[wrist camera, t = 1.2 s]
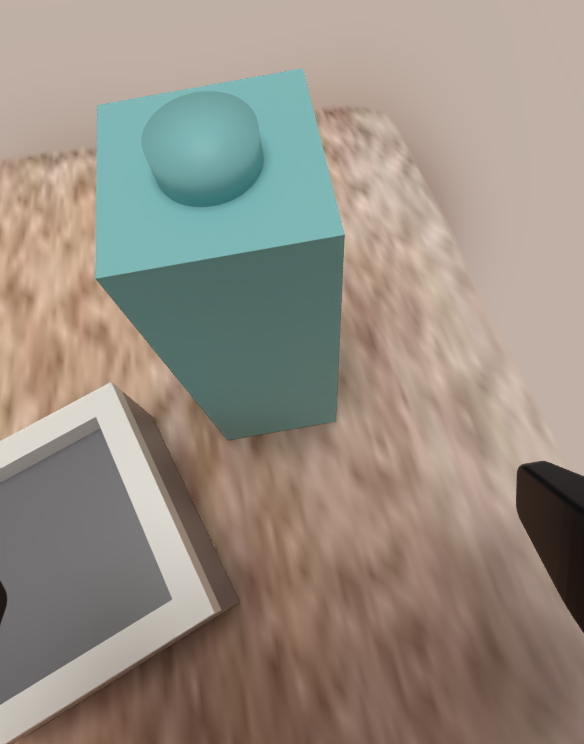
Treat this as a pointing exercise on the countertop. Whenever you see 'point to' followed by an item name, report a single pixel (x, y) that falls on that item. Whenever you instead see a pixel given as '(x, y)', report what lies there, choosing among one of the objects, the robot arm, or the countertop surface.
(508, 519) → the countertop surface
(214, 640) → the countertop surface
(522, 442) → the countertop surface
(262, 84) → the tall brick
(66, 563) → the tower base
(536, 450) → the countertop surface
